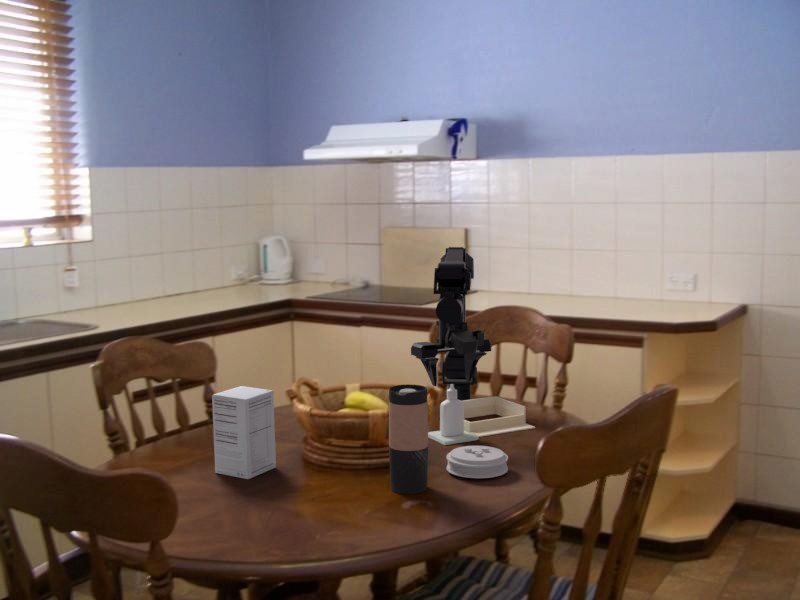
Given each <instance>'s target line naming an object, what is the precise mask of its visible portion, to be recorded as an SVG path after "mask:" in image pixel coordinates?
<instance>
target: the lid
mask: <svg viewBox="0 0 800 600" xmlns="http://www.w3.org/2000/svg"><path fill="white" fill-rule="evenodd" d="M446 460H447V465H446V471H447V472H448V473H449V474H452V475H453V476H457V477H462V478H466V479H467V478H468V479H469V478H470V479H489V478H490V479H491V478H495V477H499V476H503V475H505V474H506V473H508V471H509V467H508V465H507V461H508V460H509V456H508V455H507V453H505V452H504V451H503V450H501V449H500V448H497V447H493V446H488V445H466V446H459V447H456V448H454V449H452V450H451V451H450V452H448V453H447V454H446Z"/></svg>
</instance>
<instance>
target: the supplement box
mask: <svg viewBox="0 0 800 600" xmlns="http://www.w3.org/2000/svg"><path fill="white" fill-rule="evenodd" d="M274 393H275V392H274V390H271V389H266V388H265V389H264V388H258V387H251V386H244V385H240V386H237V387H233V388H229V389H227V390H223V391H221V392H217V393H214V394H212V395H211V402H212V424H213V427H212V428H213V449H214V450H213V451H214V453H213V454H214V470H215V471H214V473H215V474H219V475H225V476H229V477H230V476H231V477H234V478H239V479H243V480H244V479H245V480H250V479H253V478H255V477H257V476H259V475H261V474H264V473H266V472H268V471H271V470H273V469H275V468H277V463H276V461H277V459H276V458H277V457H276V431H275V430H276V429H275V428H276V427H275V399H274V397H275V395H274Z"/></svg>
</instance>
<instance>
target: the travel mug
mask: <svg viewBox="0 0 800 600" xmlns="http://www.w3.org/2000/svg"><path fill="white" fill-rule="evenodd" d="M428 404H429V403H428V387H426V386H424V385H420V384H396V385H392V386H390V387H389V388H388V451H389V452H388V453H389V474H390V475H389V476H390V477H389V478H390V480H389V481H390V489H391V491H393V492H394V493H397V494H401V495H416V494H421V493H424V492H425V491H427V488H428V473H429V472H428V470H429V469H428V468H429V467H428V464H429V463H428V462H429V437H428V432H429V416H428V414H429V411H428V410H429V408H428Z"/></svg>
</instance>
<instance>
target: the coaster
mask: <svg viewBox="0 0 800 600" xmlns="http://www.w3.org/2000/svg"><path fill="white" fill-rule="evenodd" d="M428 439H431V440H433V441H436V443H439V444H441V445H444V446H449V445H454V444H459V443H460V444H461V443H466V442H468V443H469V442H473V441H478V440H479V437H478V436H476V435H474V434H471V433H469V432H467V431H464V433H463V434H461V435H458V436H451V437H445V436H442V435H441V434H440V430H434V431H428Z"/></svg>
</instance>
